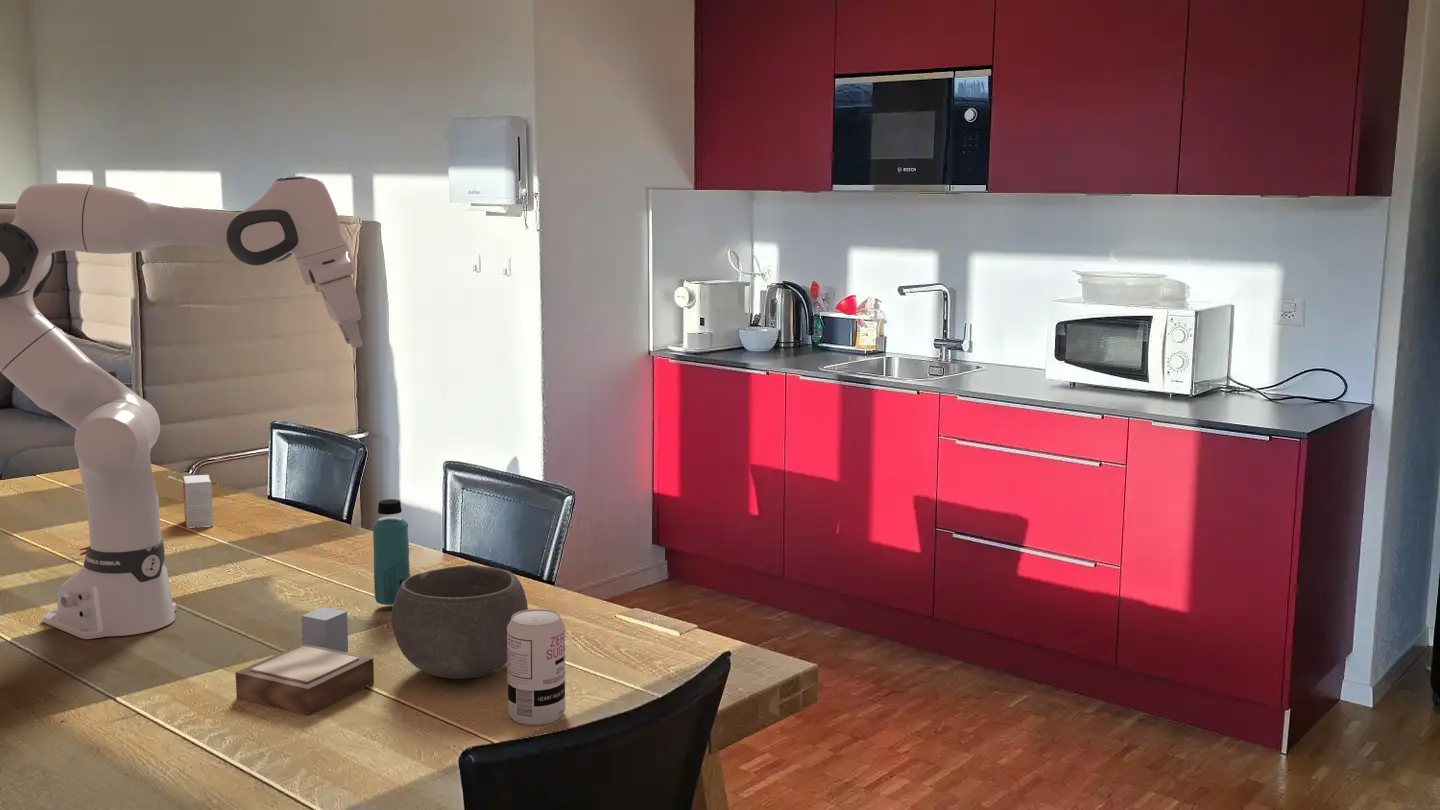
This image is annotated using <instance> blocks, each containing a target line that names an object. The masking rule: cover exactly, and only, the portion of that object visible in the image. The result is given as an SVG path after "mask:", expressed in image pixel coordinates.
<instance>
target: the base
mask: <svg viewBox="0 0 1440 810" xmlns="http://www.w3.org/2000/svg"><path fill="white" fill-rule="evenodd" d="M374 669H375V668H374V657H370V656H365V655H361V654H357V653H350V652H348V653H347V652H342V651H337V650H333V649H328V648H323V647H319V646H314V645H309V644H304V643H301V644H298V645H296V646H293V647H292V648H289V649H287V650H285V651H282V652H280V653H277V654H275V655H273V656H270V657H267V658H266V659H263V660H261V661H259V662H256V663H254V664H252V665H249V666H247V667H244V668H242V669H240V670H237V671H236V672H235V692H236V698H237V699H241V700H245V701H249V702H251V703H256V704H260V705H263V706H264V705H265V706H269V707H273V708H277V709H281V710H285V711H288V712H289V711H290V712H295V713H298V714H302V715H305V716H306V715H307V716H311V715H313V714H315V713H317V712H319V711H320V710H323V709H325V708H326V707H328V706H330V705H333V704H335V703H336V702H337V703H338V702H339V701H340V700H343V699H345V698H347V697H349V696H351V695H353V694H354V693H357V692H358V691H360V690H363V689H364V688H366V687H368V686H370V685H373V684H374V683H375V677H374V676H375V675H374V674H375V672H374ZM372 683H373V684H372Z"/></svg>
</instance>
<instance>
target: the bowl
mask: <svg viewBox="0 0 1440 810" xmlns="http://www.w3.org/2000/svg"><path fill="white" fill-rule="evenodd" d="M524 610H529V609H528V600H527V597H526V593H525V589H524V587H523V585H522V583H521V581H520V579H519V578H518V577H517V576H516V575H515V574H514V573H513V572H512V571H510V570H507V569H502V568H497V567H491V566H480V565H474V564H464V565H457V566H451V567H443V568H438V569H433V570H428V571H424V572H421V573H417V574H413V575H410V577H409V578H407V579H405V580H404V581H403V582H402V584H401V586H400V588H399V590H398V592H397V594H396V597H395V600H394V603H393V605H392V607H391V613H390V620H391V629H392V632H393V635H394V638H395V641H396V644H397V646H398V647H399V649H400V652H401V653H402V655H403V656H404V657H405V658H406V659H407V661H408V662H409V663H411V665H413V666H415V667H416V669H419V670H420V671H422V672H424V673H426V674H429V675H433V676H436V677H440V678H443V679H444V678H445V679H446V678H447V679H448V678H449V679H470V678H471V679H473V678H474V679H475V678H479V677H483V676H487V675H488V674H492V673H494V672H495V671H497V670H500V668H503V667H504V666H506V665H507V626H508V625H509V623H510V621H511V617H512V616H513V614H515V613H517V612H520V611H524Z"/></svg>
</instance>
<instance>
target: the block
mask: <svg viewBox="0 0 1440 810" xmlns="http://www.w3.org/2000/svg"><path fill="white" fill-rule="evenodd" d="M348 628H349V627H348V611H346V610H341V609H335V608H330V607H324V606H322V607H320V608H317V609H314V610H312V611H310V612H307V613H305V614H303V615H301V633H302V634H301V635H302V636H301V637H302V638H301V640H302V642H301V644H303V643H304V644H309V645H314V646H319V647H323V648H328V649H333V650H337V651H342V652H348V653H349V633H348Z"/></svg>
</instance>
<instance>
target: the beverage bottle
mask: <svg viewBox="0 0 1440 810" xmlns="http://www.w3.org/2000/svg"><path fill="white" fill-rule="evenodd" d="M377 505H378V506H377V513H378V514H380V515H391V516H382V517H380V518H378V519H377V520H376V521H375V522H374V523H373V524H372V536H373V538H372V539H373V540H372V541H373V544H372V545H373V546H372V547H373V560H372V561H373V574H372V575H373V576H372V577H373V579H374V580H373V583H374V584H373V590H374V594H373V595H374V596H373V598H374V600H375V601H376V603H377V604H380V605H385V606H387V605H388V606H390V605H392V606H393V603H394V600H395V597H396V594H397V592H398V590H399V588H400V586H401V584H402V582H403V581H404V580H405V579H407V578H409V577H411V573H410V572H411V569H410V567H411V566H410V553H411V552H410V541H409V529H408V528H409V523H408V521H406V520H405V519H404V518H402V517H401V516H394V515H397V514H400V513H402V510H403V509H402V503H401V500H400V499H395V498H389V499H388V498H387V499H382V500H379V501H378V503H377ZM392 515H393V516H392Z"/></svg>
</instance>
